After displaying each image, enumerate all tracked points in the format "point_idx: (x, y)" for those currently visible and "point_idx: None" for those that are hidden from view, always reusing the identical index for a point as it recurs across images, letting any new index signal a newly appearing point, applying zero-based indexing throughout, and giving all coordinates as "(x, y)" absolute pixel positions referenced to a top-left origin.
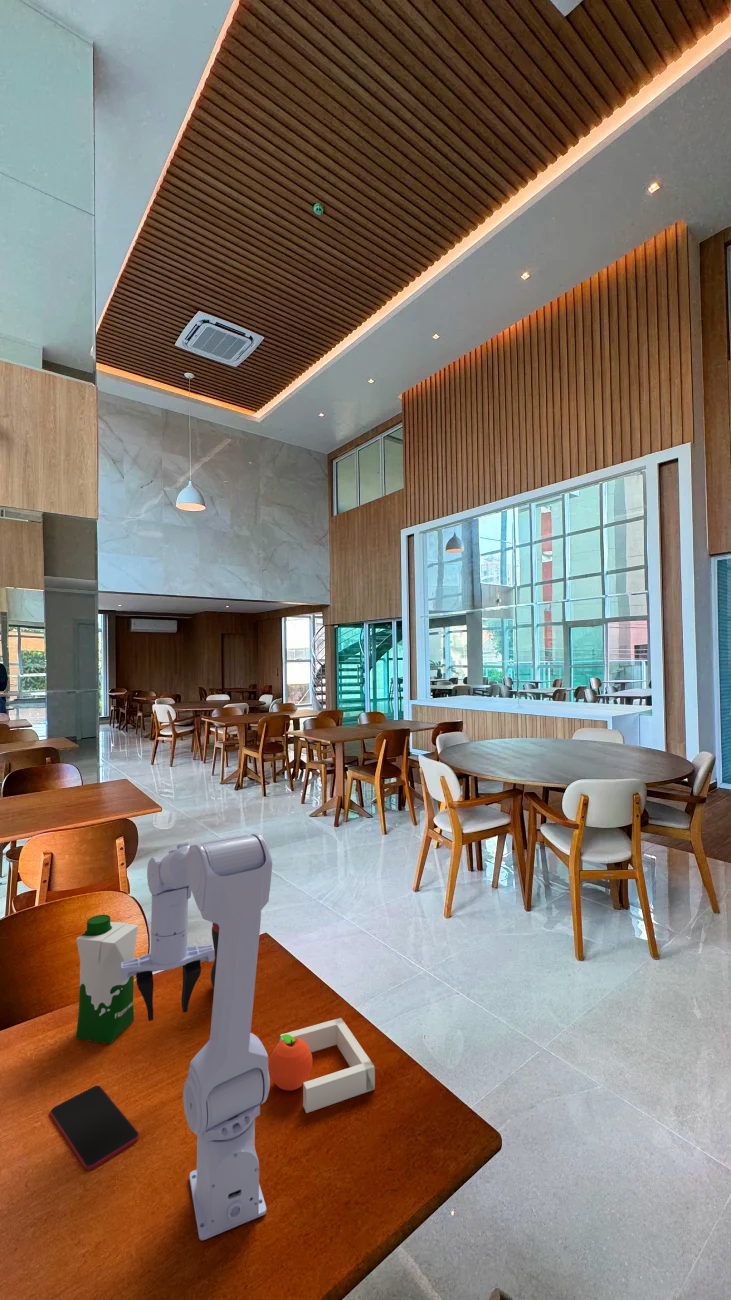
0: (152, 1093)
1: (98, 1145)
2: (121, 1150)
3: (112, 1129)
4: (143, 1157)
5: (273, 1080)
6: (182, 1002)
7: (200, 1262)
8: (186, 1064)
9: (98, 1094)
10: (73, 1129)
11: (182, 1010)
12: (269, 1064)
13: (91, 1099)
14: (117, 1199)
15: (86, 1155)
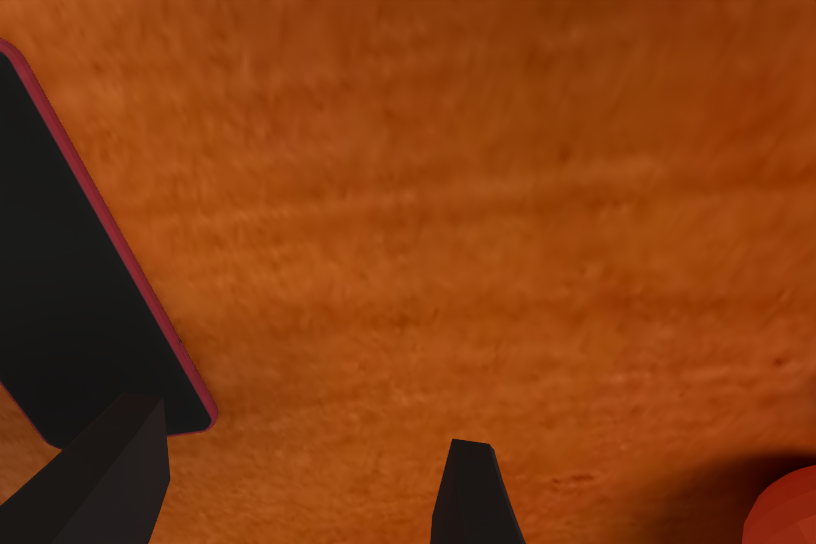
0: (290, 237)
1: (73, 396)
2: None
3: (116, 359)
4: (230, 475)
5: (743, 532)
6: (442, 536)
7: None
8: (502, 130)
9: (18, 128)
10: None
11: (438, 492)
12: (774, 536)
13: None
14: (157, 539)
15: (38, 411)
